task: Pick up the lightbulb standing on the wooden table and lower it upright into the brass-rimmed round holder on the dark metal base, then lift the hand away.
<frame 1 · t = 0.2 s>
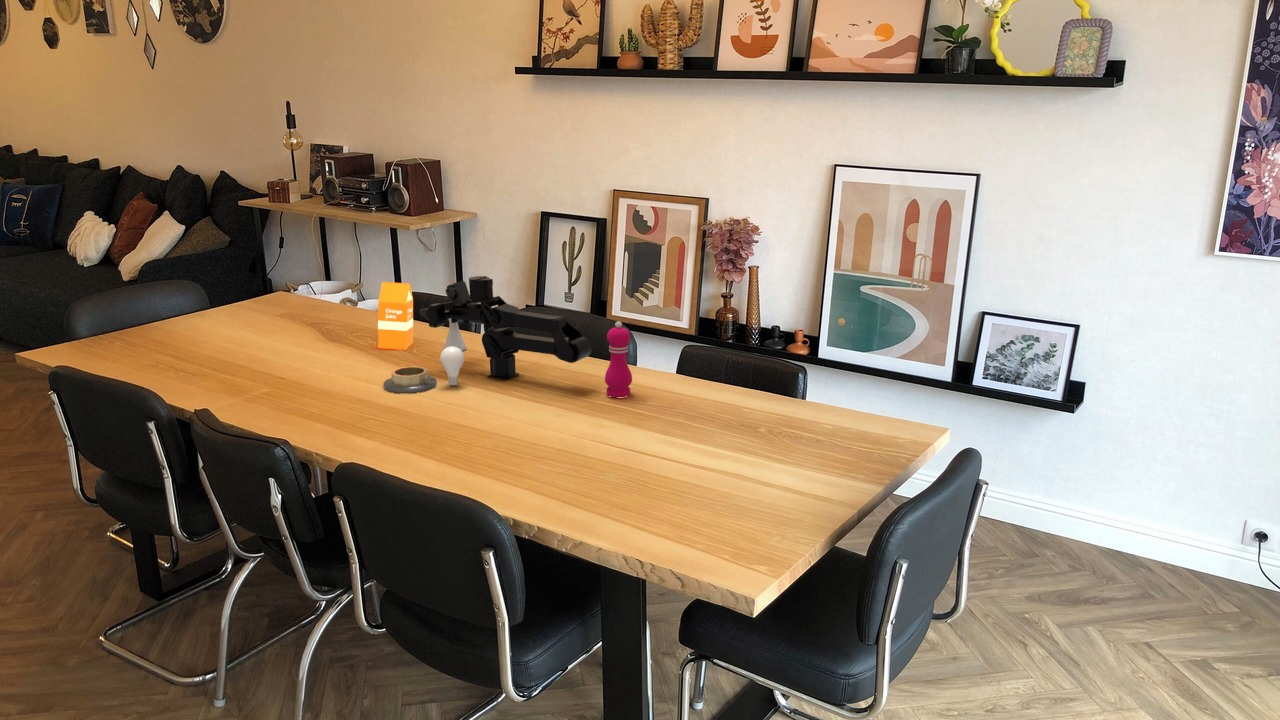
hand: (430, 308, 269), 16 cm above the table, tool horizontal, fingers open, 9 cm apart
lightbulb: (453, 386, 254), on the table
orange juice: (395, 346, 291), on the table
pepper mill: (618, 395, 247), on the table
flask: (455, 350, 289), on the table
holder: (410, 385, 254), on the table
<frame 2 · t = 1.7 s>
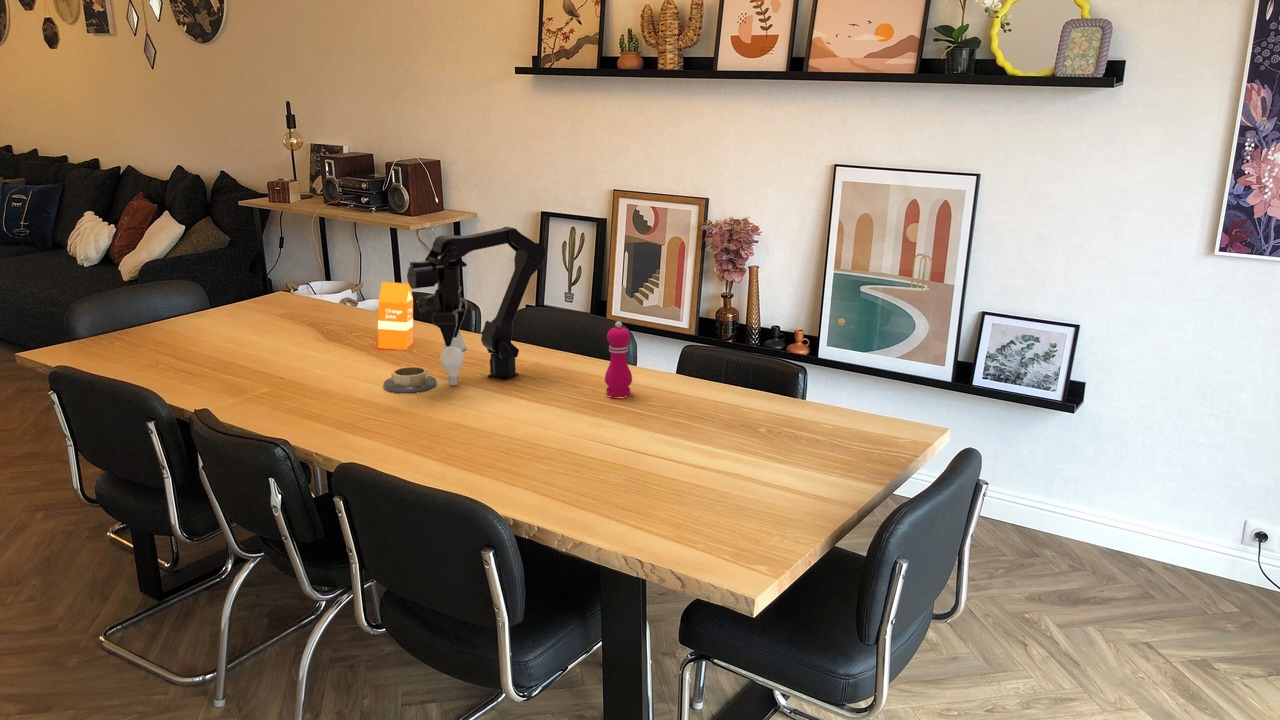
hand: (451, 341, 250), 12 cm above the table, tool pointing down, fingers open, 9 cm apart
nothing on the table moved.
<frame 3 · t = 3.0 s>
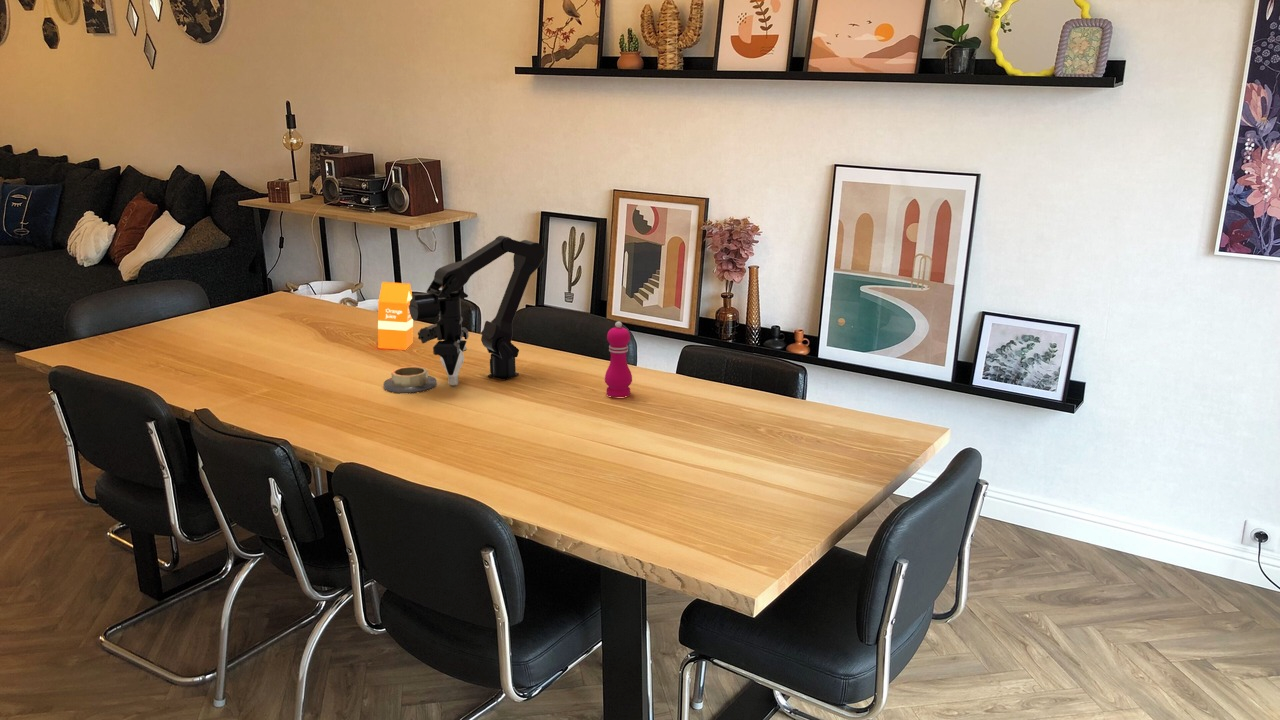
hand: (452, 371, 253), 4 cm above the table, tool pointing down, fingers closed on lightbulb, 6 cm apart
lightbulb: (453, 386, 254), on the table, touching gripper
everything else where it was.
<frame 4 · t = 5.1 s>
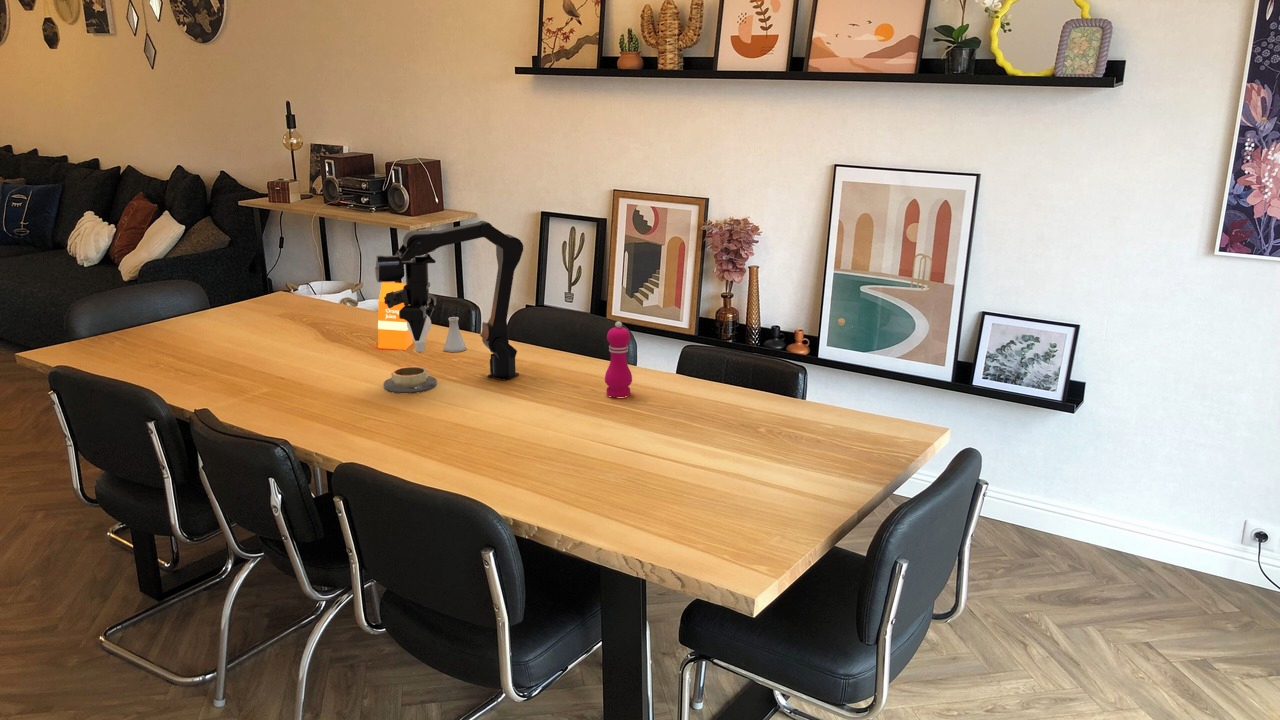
hand: (419, 337, 250), 13 cm above the table, tool pointing down, fingers closed on lightbulb, 6 cm apart
lightbulb: (420, 353, 251), point 9 cm above the table, touching gripper
everything else where it was.
when the fingers open (6 cm above the table, at t = 7.3 s): lightbulb drops 1 cm, resting on holder.
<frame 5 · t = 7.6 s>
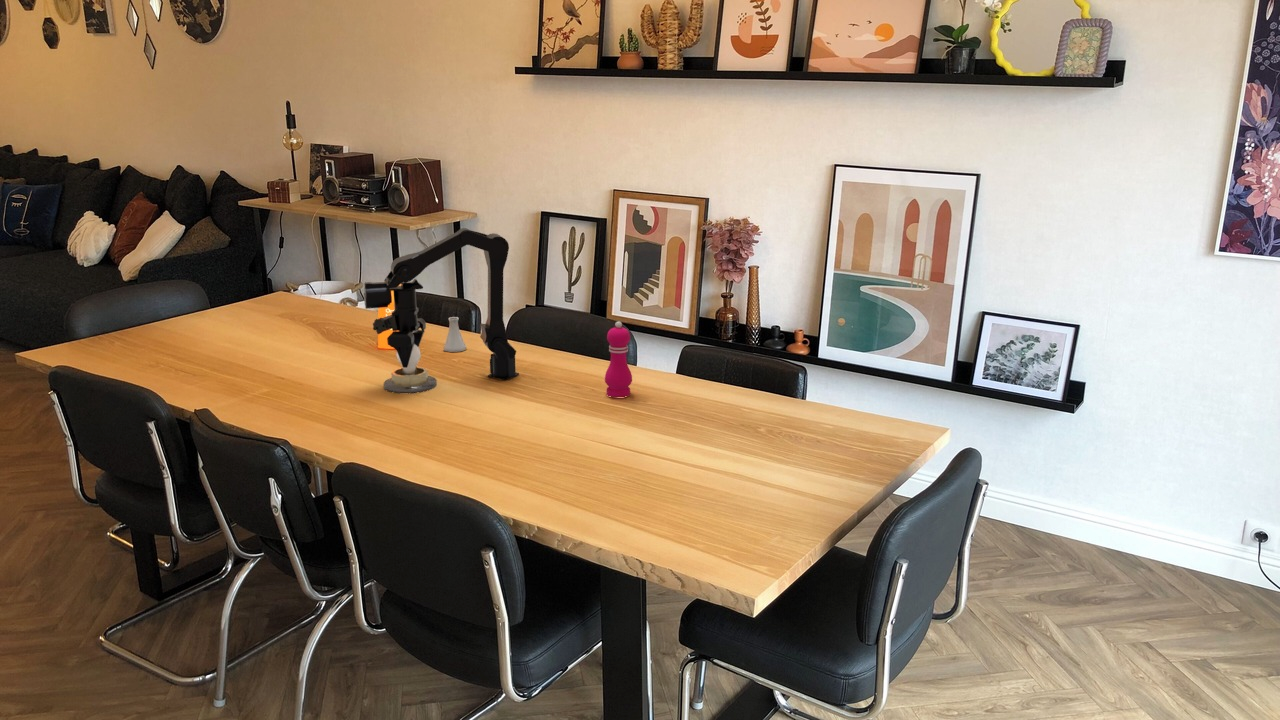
hand: (409, 362, 252), 6 cm above the table, tool pointing down, fingers open, 9 cm apart
lightbulb: (410, 382, 253), point 1 cm above the table, touching holder
everything else where it was.
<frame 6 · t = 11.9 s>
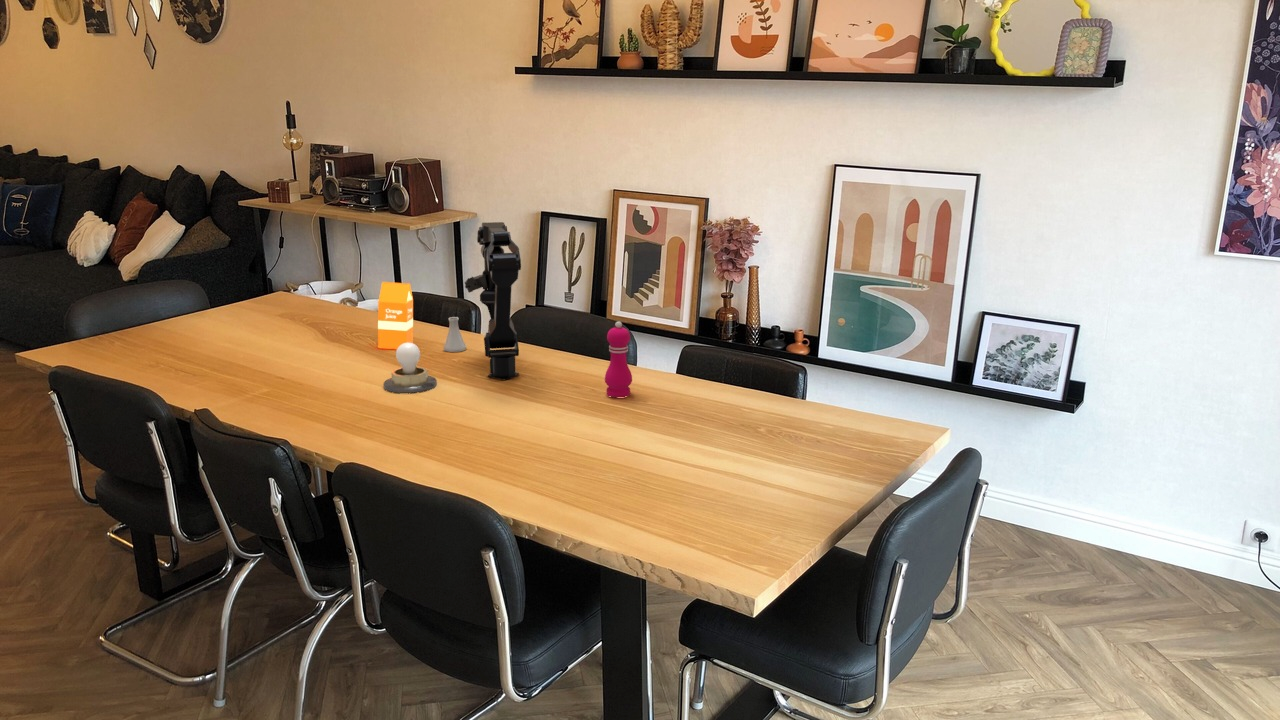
hand: (496, 319, 272), 13 cm above the table, tool pointing down, fingers open, 9 cm apart
nothing on the table moved.
at the end: lightbulb 0.3 cm off-centre on the holder, point 0.8 cm above the holder's base; lightbulb tilted 0°; the gripper is holding nothing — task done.
